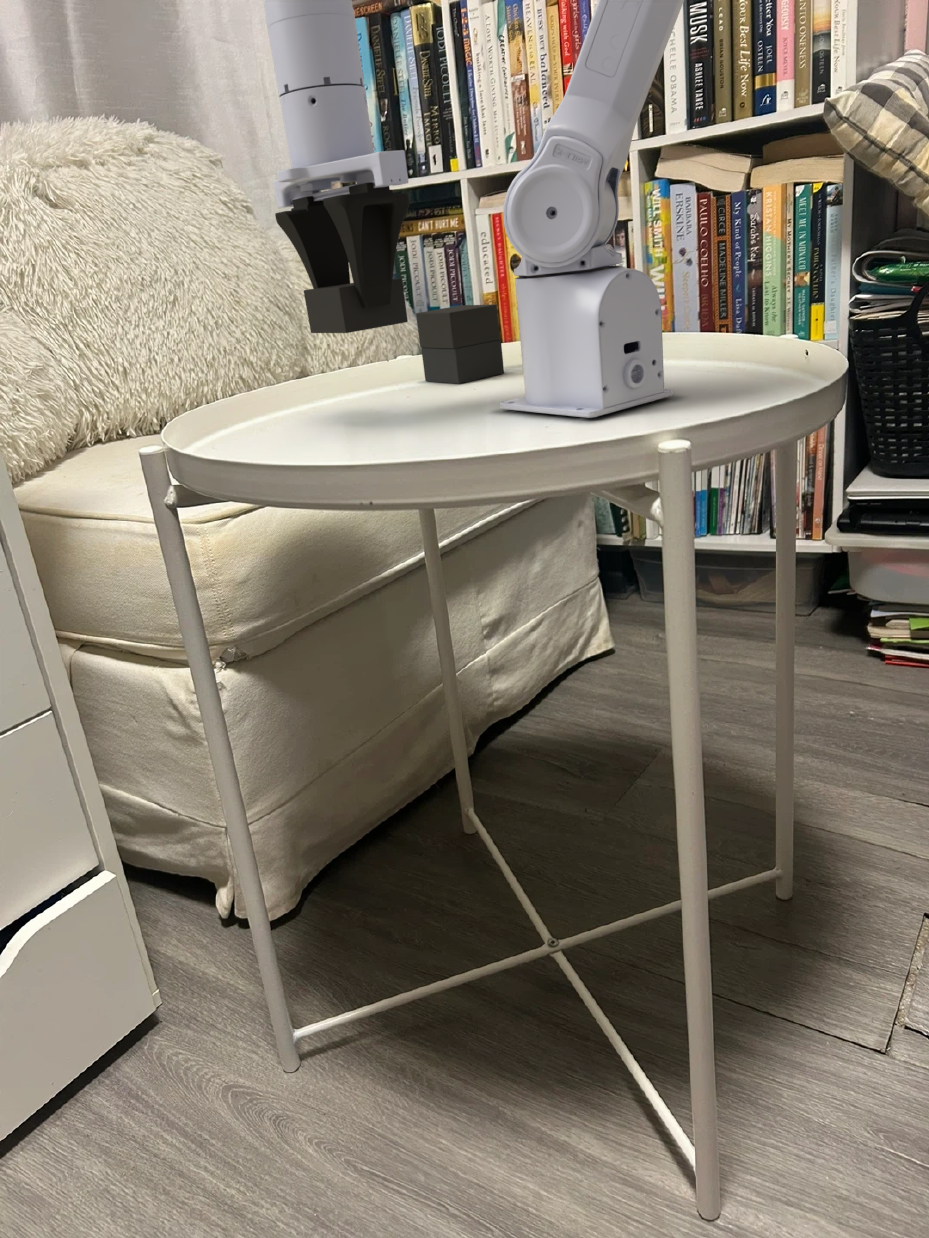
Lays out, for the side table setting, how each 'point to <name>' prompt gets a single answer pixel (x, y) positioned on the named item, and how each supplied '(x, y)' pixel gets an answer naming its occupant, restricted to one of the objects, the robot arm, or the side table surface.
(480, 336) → the pad middle
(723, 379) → the side table surface
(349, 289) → the pad top
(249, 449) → the side table surface
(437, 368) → the pad base
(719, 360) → the side table surface
